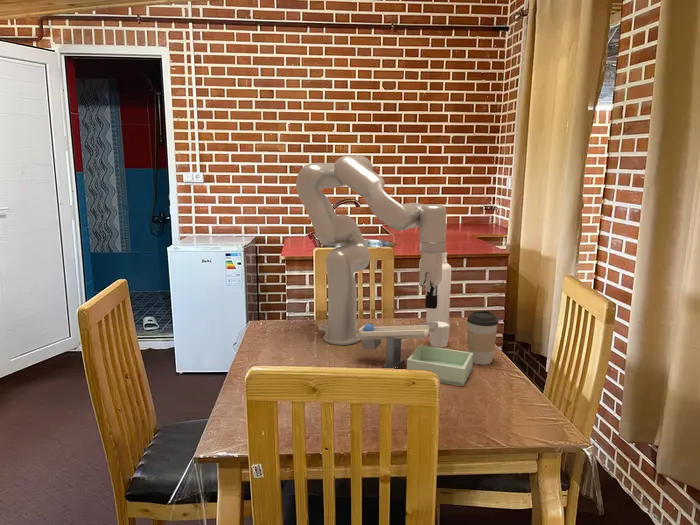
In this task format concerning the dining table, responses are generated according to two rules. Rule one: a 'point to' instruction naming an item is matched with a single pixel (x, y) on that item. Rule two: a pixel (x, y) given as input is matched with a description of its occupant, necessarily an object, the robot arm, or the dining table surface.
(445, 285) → the bottle
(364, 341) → the lever
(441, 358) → the bin
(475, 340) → the coffee cup
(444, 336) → the shot glass
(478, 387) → the dining table surface
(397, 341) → the lever stand
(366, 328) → the ball
